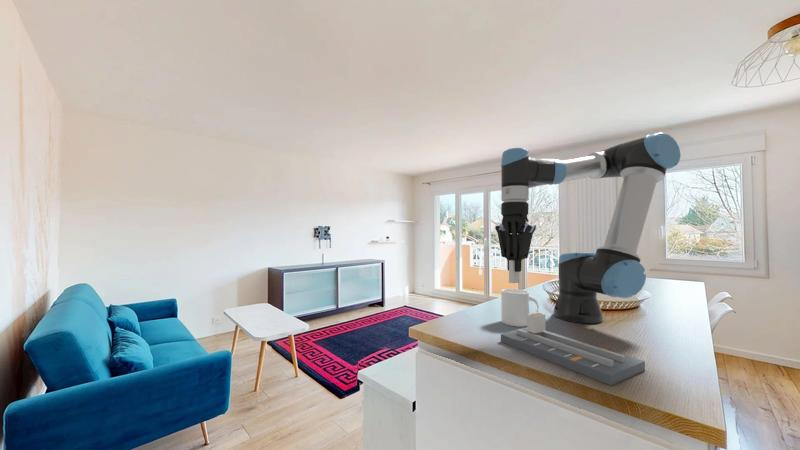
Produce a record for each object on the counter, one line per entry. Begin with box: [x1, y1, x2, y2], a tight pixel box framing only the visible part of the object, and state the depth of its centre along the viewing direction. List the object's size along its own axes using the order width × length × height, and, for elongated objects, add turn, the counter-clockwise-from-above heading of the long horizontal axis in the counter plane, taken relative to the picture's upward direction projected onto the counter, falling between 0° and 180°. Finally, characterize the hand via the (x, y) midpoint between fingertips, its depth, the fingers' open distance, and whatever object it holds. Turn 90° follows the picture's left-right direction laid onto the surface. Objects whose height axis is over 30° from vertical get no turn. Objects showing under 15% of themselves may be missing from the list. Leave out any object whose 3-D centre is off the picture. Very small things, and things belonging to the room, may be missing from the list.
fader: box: [526, 312, 546, 336], centre depth 83 cm, size 4×2×6 cm, turn 119°
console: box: [500, 327, 646, 386], centre depth 76 cm, size 14×28×3 cm, turn 29°
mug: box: [500, 288, 539, 328], centre depth 102 cm, size 9×12×11 cm
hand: (514, 282), depth 90 cm, fingers closed
